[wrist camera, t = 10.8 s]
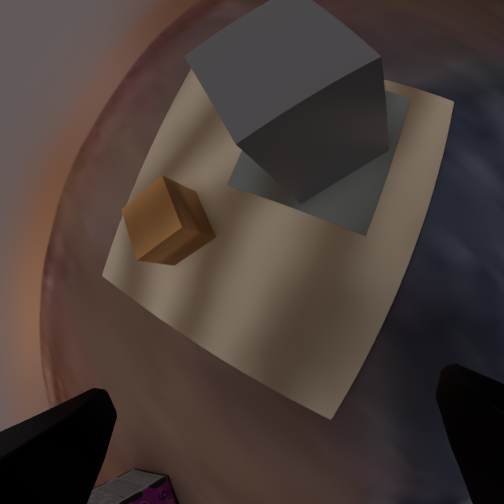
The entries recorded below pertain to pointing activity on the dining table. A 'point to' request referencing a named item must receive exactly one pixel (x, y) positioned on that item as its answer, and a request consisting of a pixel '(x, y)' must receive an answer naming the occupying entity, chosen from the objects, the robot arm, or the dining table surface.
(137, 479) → the candy bar box
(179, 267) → the birch board
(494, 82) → the dining table surface
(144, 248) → the orange block
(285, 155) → the charcoal cover
